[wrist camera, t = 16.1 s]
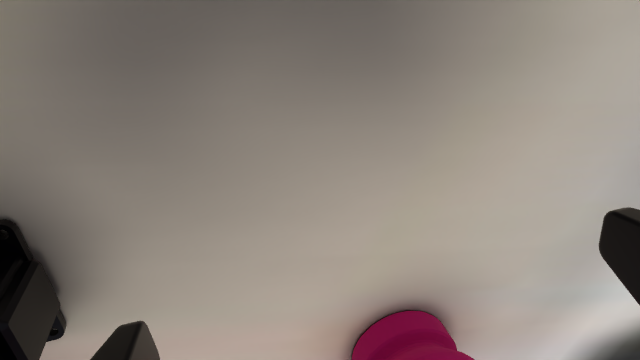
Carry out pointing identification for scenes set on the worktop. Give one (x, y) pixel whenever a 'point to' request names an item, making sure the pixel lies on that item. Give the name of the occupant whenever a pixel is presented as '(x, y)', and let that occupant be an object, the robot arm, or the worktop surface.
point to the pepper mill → (407, 339)
